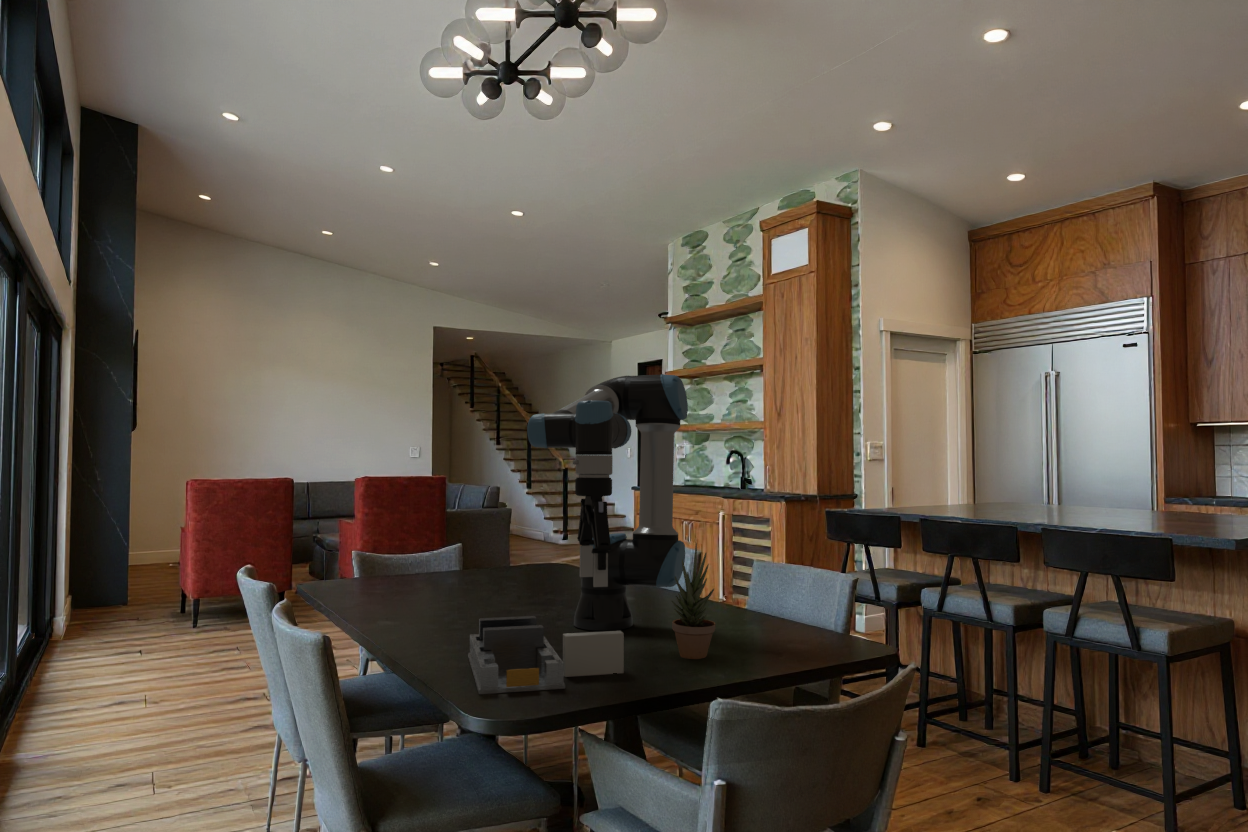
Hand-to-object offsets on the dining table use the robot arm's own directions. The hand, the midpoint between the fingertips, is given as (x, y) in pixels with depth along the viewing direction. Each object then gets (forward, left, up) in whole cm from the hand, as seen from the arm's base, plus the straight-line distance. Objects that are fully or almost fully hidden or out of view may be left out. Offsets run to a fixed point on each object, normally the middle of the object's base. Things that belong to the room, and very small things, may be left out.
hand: (593, 581), depth 168 cm
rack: (+15, -5, -18) cm, 24 cm away
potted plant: (-25, -9, -19) cm, 32 cm away
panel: (0, 0, -18) cm, 18 cm away
